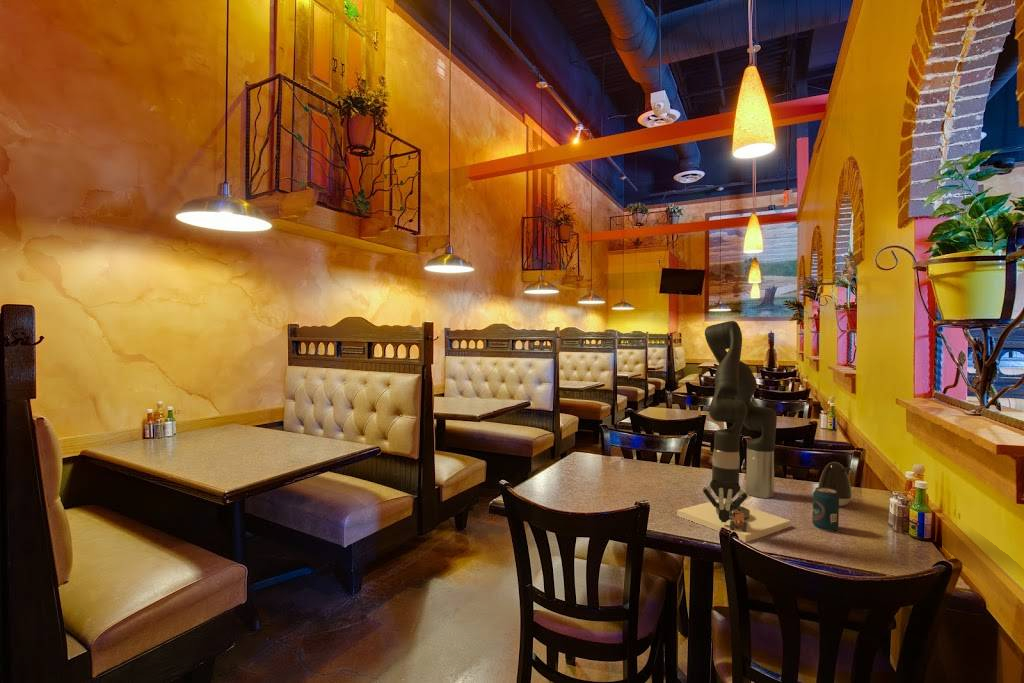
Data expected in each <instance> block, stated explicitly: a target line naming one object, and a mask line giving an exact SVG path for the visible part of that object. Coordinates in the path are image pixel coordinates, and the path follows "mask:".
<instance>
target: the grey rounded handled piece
mask: <svg viewBox="0 0 1024 683" xmlns="http://www.w3.org/2000/svg"><path fill="white" fill-rule="evenodd" d="M734 501H735V500H731V504H732V503H733V502H734ZM740 505H741V504H740ZM740 505H739V506H738V507H737V508H736V509H735V510H734V509H731V510H730V511H729V518H731V519H732V520H733V521H734V527H737V528H742V522H744V519H748V518H749V517H750V511H749V510H748V509H747V508H745V507H742V506H740ZM724 508H725V504H724ZM716 513H717V514H719V509H718V508H717V507H716Z"/></svg>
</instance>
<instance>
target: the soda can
mask: <svg viewBox="0 0 1024 683" xmlns="http://www.w3.org/2000/svg"><path fill="white" fill-rule="evenodd" d="M814 489H815V490H814V492H813V493H812V517H811V518H812V520H811V521H812V524H813V526H814V528H816V529H818V528H819V529H818V530H820V529H821V530H820V531H824V530H825V531H824V532H836V531H837V529H838V528H839V524H840V523H839V521H840V520H839V519H840V510H839V509H840V506H839V496H838V494H837V491H836V490H833V489H830V488H824V487H818V486H817V487H815V488H814ZM835 530H836V531H835Z"/></svg>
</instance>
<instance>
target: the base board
mask: <svg viewBox="0 0 1024 683" xmlns="http://www.w3.org/2000/svg"><path fill="white" fill-rule="evenodd" d="M715 500H716V502H718V503H719V500H718V499H715ZM724 504H725V498H724ZM740 506H742V507H745V508H747V509H748V510H749V511H750V517H749V518H748V519H744V522H742V528H737V527H734V521H733V520H732V519H731V518H729V520H728V521H727V522H726V523H725V522H721V520H719V514H717V513H716V507H714V506H713V505H712V503H711V502H710V501H708V502H703V503H699V504H696V505H692V506H688V507H685V508H681V509H680V508H679V509H677V510H676V516H677V517H678V516H679V518H681V517H682V518H681V519H683V518H685V519H684V520H686V519H687V520H686V521H688V520H690V521H689V522H691V521H693V522H695V523H694V524H696V523H698V524H697V525H699V524H701V525H704V526H706V527H709V528H712V529H714V530H718V532H717V533H719V529H720V528H721V527H725V528H727V529H729V530H733V531H735V532H736V533H737V534H738V536H739V538H740V539H741V540H742V541H744V542H743V543H748V542H751V541H753V540H756V539H759V538H762V537H765V536H768V535H771V534H773V533H776V532H780V531H782V529H783V530H786V529H788V527H789V528H791V520H789V519H786V518H785V517H784V518H783V517H780V516H778V515H774V514H771V513H767V512H765V511H762V510H760V509H759V510H758V509H756V508H752V507H750V506H746V505H743V504H740ZM693 522H692V523H693ZM701 525H700V526H701ZM704 526H703V527H704ZM706 527H705V528H706ZM709 528H708V529H709ZM785 528H786V529H785ZM714 530H713V531H714ZM742 541H741V542H742Z"/></svg>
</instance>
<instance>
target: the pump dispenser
mask: <svg viewBox="0 0 1024 683" xmlns="http://www.w3.org/2000/svg"><path fill="white" fill-rule="evenodd" d="M851 470H852V468H851V467H844V466H843V464H841V463H840V462H837V461H831V462H829V463H828V464H826V466H824V469H823V470H822V472H821V475H820V478H819V481H818V482H819V483H818V486H817V487H824V488H830V489H833V490H836V491H837V494H838V496H839V507H843V506H846V505H847V504H848V503H849V502H850V501H851V498H852V496H853V495H852V494H853V493H852V485H851V481H850V477H849V475H848V473H847V472H850V471H851Z"/></svg>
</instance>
